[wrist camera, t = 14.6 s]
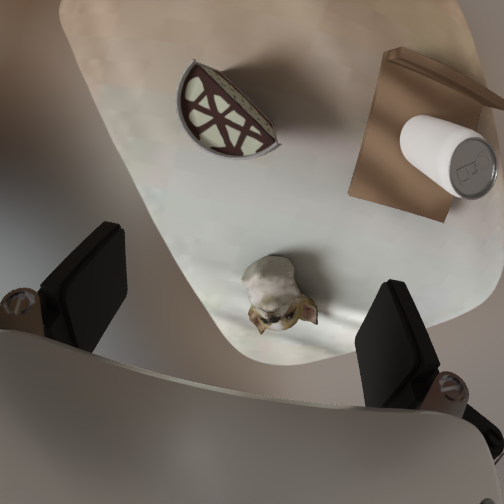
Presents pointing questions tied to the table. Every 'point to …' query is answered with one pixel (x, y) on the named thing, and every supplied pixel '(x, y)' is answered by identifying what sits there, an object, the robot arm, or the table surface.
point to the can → (450, 155)
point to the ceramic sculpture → (276, 295)
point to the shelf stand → (395, 117)
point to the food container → (222, 115)
